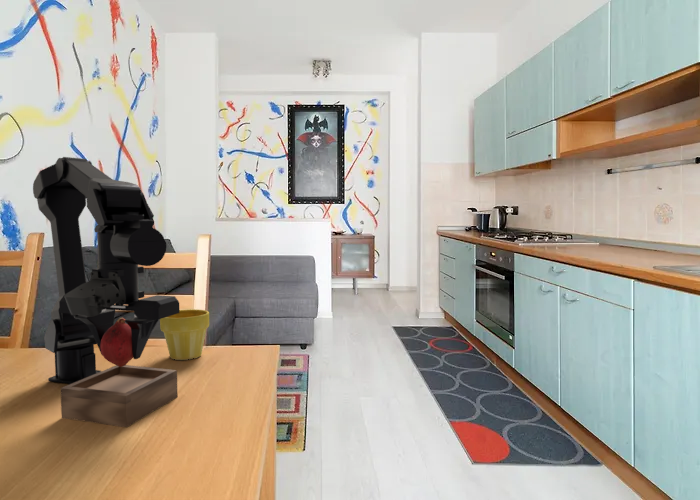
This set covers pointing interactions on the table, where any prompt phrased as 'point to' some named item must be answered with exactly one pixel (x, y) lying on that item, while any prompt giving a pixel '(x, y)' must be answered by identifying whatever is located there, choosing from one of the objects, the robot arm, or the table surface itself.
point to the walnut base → (119, 395)
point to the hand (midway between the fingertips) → (120, 356)
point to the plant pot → (185, 333)
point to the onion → (117, 343)
